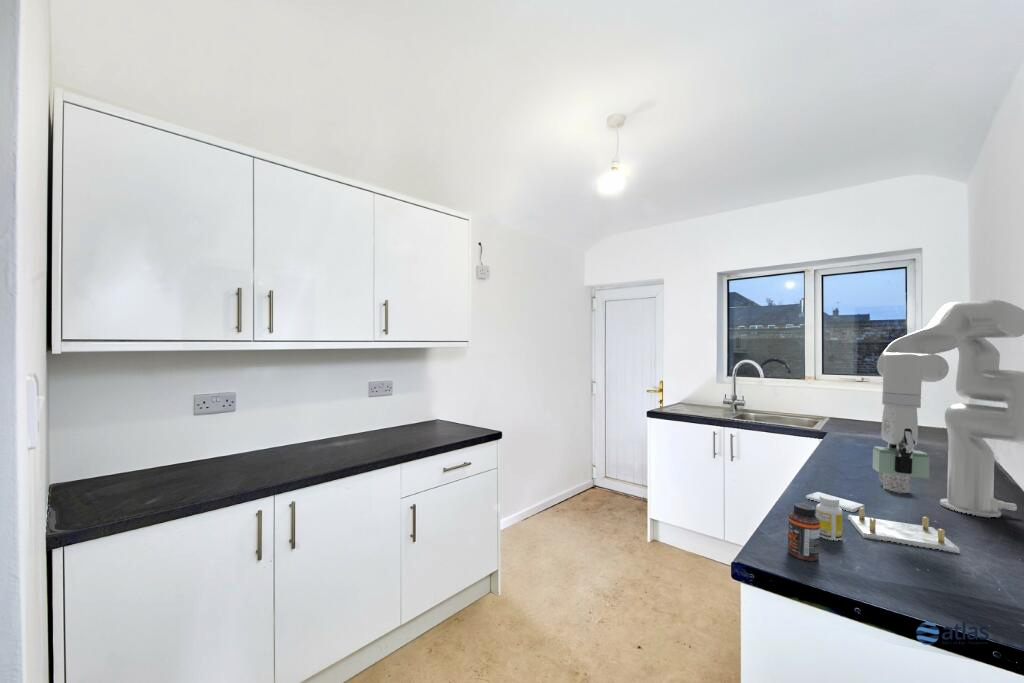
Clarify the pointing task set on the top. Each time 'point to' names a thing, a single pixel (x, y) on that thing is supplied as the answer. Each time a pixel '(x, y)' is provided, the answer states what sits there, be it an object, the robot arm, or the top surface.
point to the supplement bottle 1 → (804, 532)
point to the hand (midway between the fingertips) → (898, 469)
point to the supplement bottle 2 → (829, 518)
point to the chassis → (902, 532)
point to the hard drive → (843, 503)
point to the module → (886, 462)
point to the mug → (895, 482)
